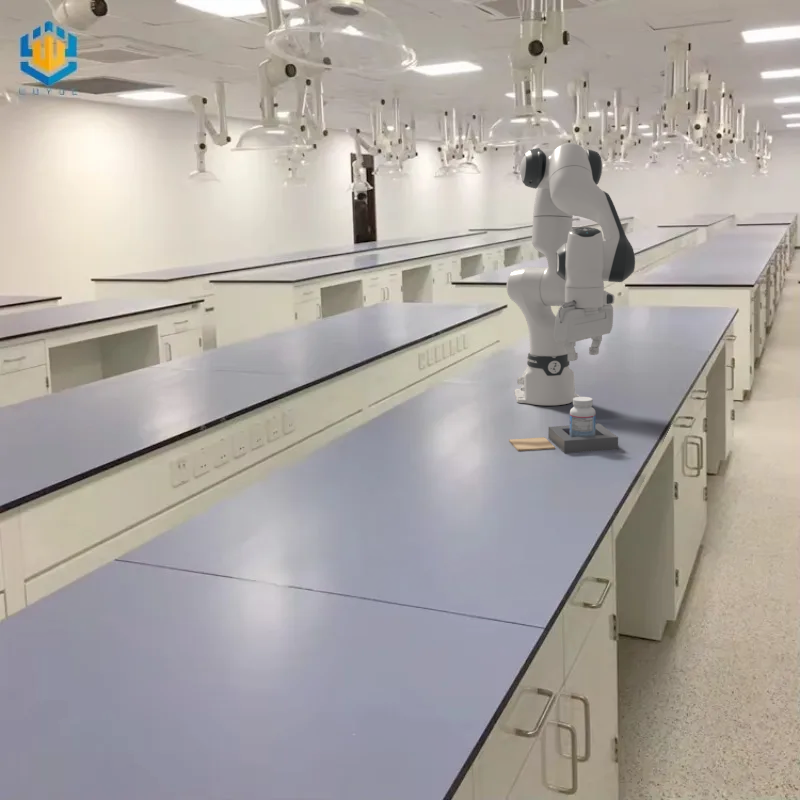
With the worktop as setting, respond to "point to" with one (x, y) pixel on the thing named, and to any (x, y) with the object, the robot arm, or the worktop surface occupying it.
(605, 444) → the grey square bottle holder
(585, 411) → the pill bottle
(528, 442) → the cork pad
